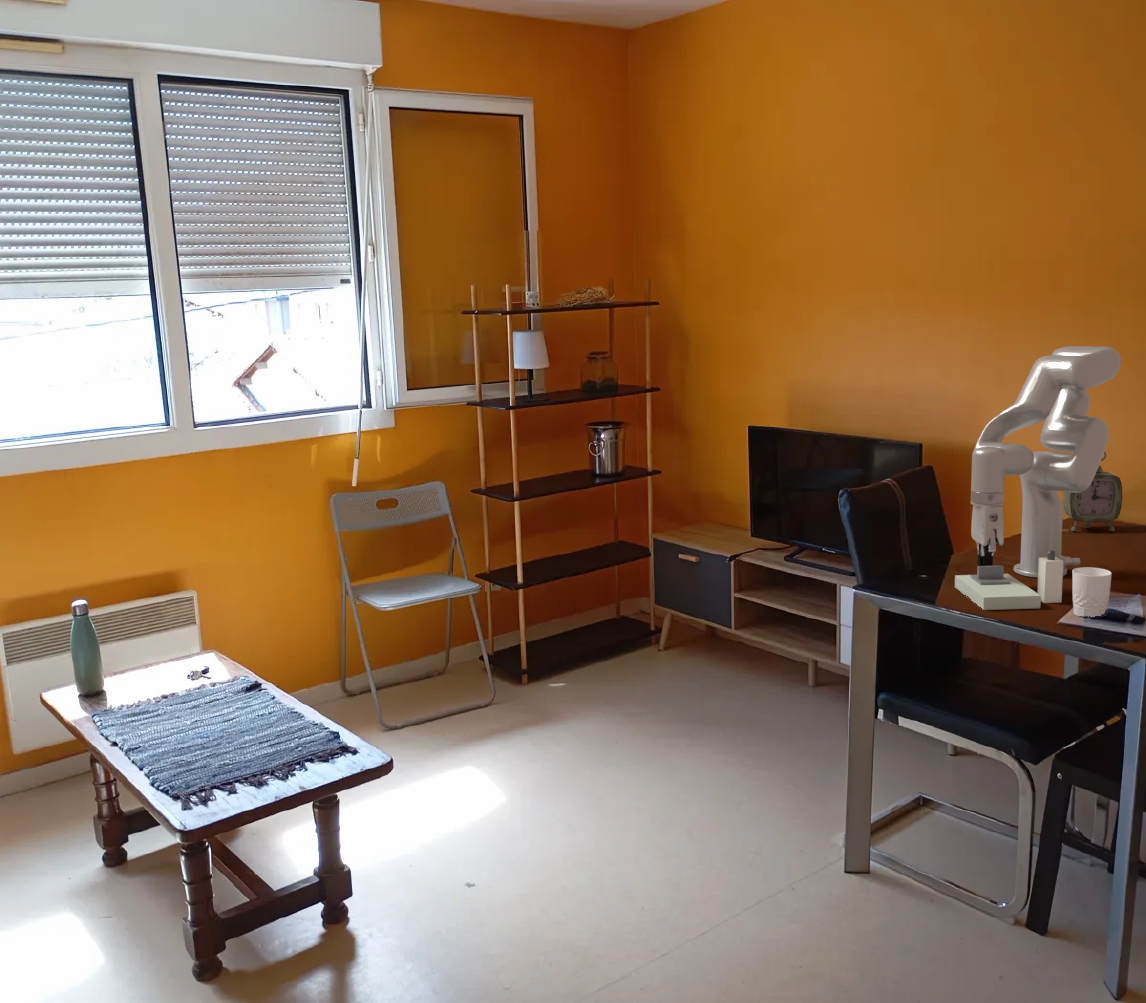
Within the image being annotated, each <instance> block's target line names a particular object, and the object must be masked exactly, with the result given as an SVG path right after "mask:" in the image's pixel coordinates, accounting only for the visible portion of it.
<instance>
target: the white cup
mask: <svg viewBox="0 0 1146 1003" xmlns="http://www.w3.org/2000/svg"><path fill="white" fill-rule="evenodd" d="M1071 572H1072V576H1071V577H1072V583H1071V585H1072V587H1071V588H1072V591H1071V592H1072V595H1071V596H1072V606H1073V607H1072V609H1073V610H1072V613H1073V615H1075V616H1076V617H1079V616H1088V617H1089V616H1090V617H1095V616H1101V615H1102V614H1104V613H1105V611H1106V610H1107V611H1108V604H1109V599H1110V593H1111V586H1112V585H1111V584H1112V583H1111V582H1112V574H1113V573H1112V572H1111V570H1108V569H1105V568H1101V567H1100V568H1099V567H1090V566H1089V567H1088V566H1086V567H1076V568H1073V569H1072V571H1071Z"/></svg>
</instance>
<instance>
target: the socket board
mask: <svg viewBox="0 0 1146 1003" xmlns="http://www.w3.org/2000/svg"><path fill="white" fill-rule="evenodd" d="M971 575H972V574H961V575H959V574H958V575H957V574H956V575H954V588H955V589H956V590H958V591H960V593H961V594H963V595H964V596H965V595H966V596H965V597H967V596H968V597H969V598H970V599H971V600H970V599H969V598H968V597H967V598H968V599H969V600H970V601H972V602H973V603H974V604H975V603H976V604H977V605H976V604H975V605H976V606H977V607H979V608H980V607H981V608H982V609H981V608H980V609H981V610H982V611H992V610H993V611H994V610H995V611H996V610H1024V609H1027V610H1028V609H1041V602H1042V601H1041V595H1039V594H1038V593H1037V592H1036V591H1035V590H1033V589H1031V588H1030V587H1029V586H1028V585H1026V584H1024V583H1023V582H1021V581H1020V580H1018V579H1017V578H1015V577H1013V576H1012V575H1011V574H1009V573H1004V578H1006V579H1007V580H1009V581H1010V584H992V585H980V584H979V583H978V582H976V581H975V580H973V579H972V578H971Z"/></svg>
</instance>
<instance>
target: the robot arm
mask: <svg viewBox="0 0 1146 1003" xmlns="http://www.w3.org/2000/svg"><path fill="white" fill-rule="evenodd" d="M1121 363H1122V361H1121V355H1120V354H1119V352H1118V350H1116V349H1115V348H1114V347H1111V346H1086V345H1085V346H1083V345H1081V346H1079V345H1078V346H1077V345H1076V346H1075V345H1073V346H1071V345H1069V346H1063V347H1058V348H1056V349H1055V350H1054V351H1053V352H1052V353H1051V355H1050V354H1049V355H1044V356H1041V357H1039V358H1038V359H1037V360H1036V361H1035V362H1034V363H1033V365H1032V367H1031V369H1030V370H1029V373H1028V375H1027V377H1026V379H1025V381H1024V383H1023V385H1022V388H1021V389H1020V391H1019V393H1018V395H1017V398H1016V400H1015V402H1014V403H1013V404H1012V405H1010V406H1009V407H1007V408H1006V409H1004V410H1003V411H1001V412H1000V413H998V414H997V415H996V416H994V418H992V419H991V420H990V421H989V422H988V423H987V424H986V426H984V427H983V429H982V432H981V433H980V436H979V437H978V438H977V441H976V444H975V446H974V449H973V451H972V454H971V455H972V456H971V482H970V484H971V485H970V504H971V505H973V506H972V510H971V511H972V513H971V525H970V526H971V528H970V530H971V539H973V540H974V541H975V543H976V549H977V550H976V551H977V552H976V554H977V559H976V560H977V562H976V567H977V566H994V564H993V563H994V561H993V560H994V553H995V552H996V551H997V548H996V547H997V545H998V546H1000V547H1001V546H1003V545H1004V544H1005V543H1004V542H1005V534H1004V533H1005V532H1004V531H1005V529H1004V528H1005V526H1004V512H1003V511H1004V510H1003V505H1004V502H1005V479H1006V476H1019V478H1020V484H1021V491H1022V492H1021V495H1022V507H1021V508H1022V512H1021V533H1020V534H1021V537H1020V539H1021V540H1020V541H1021V542H1020V563H1017V564H1015V565H1014V566H1013V571H1014V572H1015V573H1016V574H1018V575H1021V576H1024V577H1031V578H1038V565H1039V558H1042V557H1047V552H1048V550H1053V551H1055V557H1057V558H1059V559H1060V560H1062V561H1063V577H1064V576H1066V575H1067V574H1068V571H1067V570H1068V568H1066V567H1069V566H1080V565H1081V558H1080V557H1071V556H1064V555H1062V540H1063V539H1062V537H1063V521H1064V520H1063V519H1064V518H1063V516H1064V505H1063V500H1062V499H1061V496H1060V495H1059V492H1063V491H1064V492H1072V493H1080V492H1083V491H1085V490H1086V489H1087V488H1088V487H1089V486H1090V484H1091V483H1092V481H1093V479H1094V476H1095V474H1096V471H1097V469H1098V467H1099V465H1101V462H1102V461H1101V459H1102V458H1104V452H1105V453H1106V450H1107V446H1108V443H1109V436H1110V435H1109V434H1110V433H1109V432H1110V431H1109V427H1108V424H1107V423H1106V421H1105V420H1103V419H1102V418H1100V417H1097V416H1092V415H1088V412H1089V409H1090V407H1091V398H1090V395H1089V392H1088V391H1087V390H1089V389H1092V388H1094V387H1097V386H1100V385H1102V384H1104V383H1107V382H1109V381H1111V380H1112V379H1114V378H1115V376H1117V374H1118V373H1119V371H1120V368H1121V365H1122V364H1121ZM1044 421H1045V422H1044ZM1041 422H1044V424H1043V426H1042V429H1041V432H1040V437H1039V439H1040V440H1039V441H1040V444H1041V446H1042V447H1043V448H1046V449H1047V450H1051V451H1044V450H1039V451H1038V450H1037V451H1032V450H1031V449H1030V448H1029V447H1028V446H1026V445H1022V444H1019V443H1018V444H1016V443H1008V442H1002V441H1003V440H1004V439H1006V437H1008V436H1009V435H1010V434H1013V433H1014V432H1016V431H1018V430H1021V429H1024V428H1026V427H1027V428H1028V427H1030V426H1033V425H1036V424H1039V423H1041ZM1058 491H1059V492H1058Z"/></svg>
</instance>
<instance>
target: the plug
mask: <svg viewBox="0 0 1146 1003" xmlns="http://www.w3.org/2000/svg"><path fill="white" fill-rule="evenodd" d="M1063 578H1064V576H1063V561H1062V560H1060V559H1059V558H1057V557H1055V551H1053V550H1048V552H1047V557H1042V558H1039V565H1038V577H1037V592H1036V593H1038V594H1039V595H1041V602H1042V603H1044V604H1052V603H1053V604H1054V603H1059V604H1060V603H1062V600H1063V599H1062V598H1063V597H1062V596H1063Z"/></svg>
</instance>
